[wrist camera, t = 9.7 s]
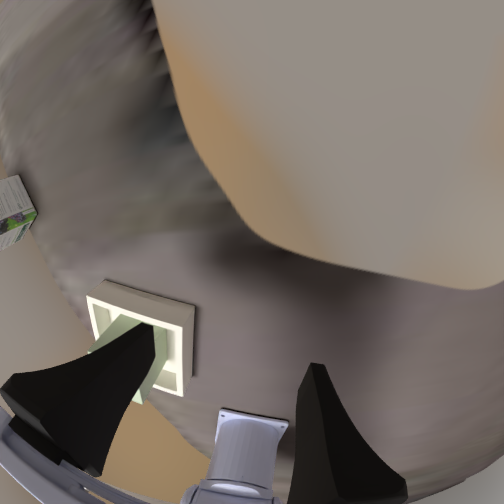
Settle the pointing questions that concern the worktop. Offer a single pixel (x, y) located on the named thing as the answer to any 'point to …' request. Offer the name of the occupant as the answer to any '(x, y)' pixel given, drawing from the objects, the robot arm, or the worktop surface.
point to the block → (160, 339)
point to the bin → (154, 312)
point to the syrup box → (14, 211)
